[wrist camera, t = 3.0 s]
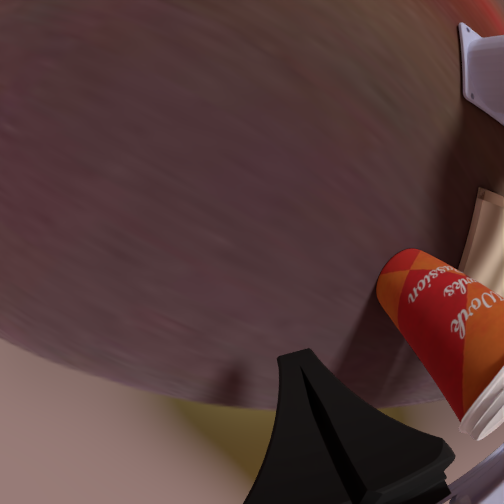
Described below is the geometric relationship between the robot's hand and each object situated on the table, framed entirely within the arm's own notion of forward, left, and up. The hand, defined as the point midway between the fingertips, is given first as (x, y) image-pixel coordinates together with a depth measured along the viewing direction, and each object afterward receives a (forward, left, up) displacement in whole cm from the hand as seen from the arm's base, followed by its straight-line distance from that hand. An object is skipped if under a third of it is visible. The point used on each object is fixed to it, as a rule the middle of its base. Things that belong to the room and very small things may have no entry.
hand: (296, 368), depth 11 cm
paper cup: (-11, 0, -9) cm, 14 cm away
